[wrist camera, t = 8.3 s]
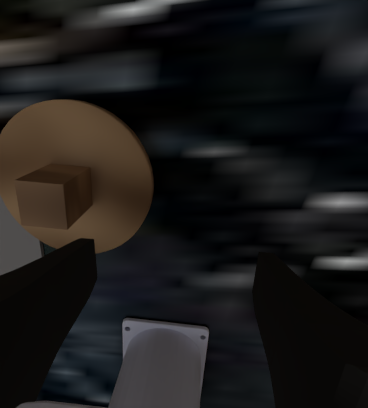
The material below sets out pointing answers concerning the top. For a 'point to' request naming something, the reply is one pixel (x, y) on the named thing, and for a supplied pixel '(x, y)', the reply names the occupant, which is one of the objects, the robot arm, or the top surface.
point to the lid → (74, 174)
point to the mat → (16, 243)
